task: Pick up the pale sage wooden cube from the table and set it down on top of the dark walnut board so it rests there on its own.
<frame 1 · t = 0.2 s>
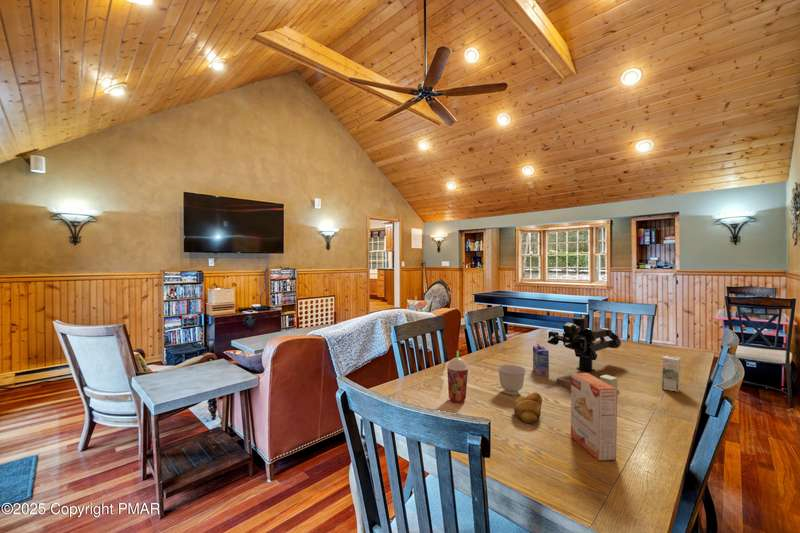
hand: (556, 343, 169), 17 cm above the table, tool horizontal, fingers open, 9 cm apart
bread roll: (526, 418, 128), on the table
ink cartridge box: (540, 372, 178), on the table
syrup box: (670, 390, 156), on the table
cracker box: (591, 448, 108), on the table
walnut board: (573, 386, 161), on the table
smoothie: (457, 401, 143), on the table
teacup: (511, 391, 153), on the table
sage cube: (608, 388, 157), on the table
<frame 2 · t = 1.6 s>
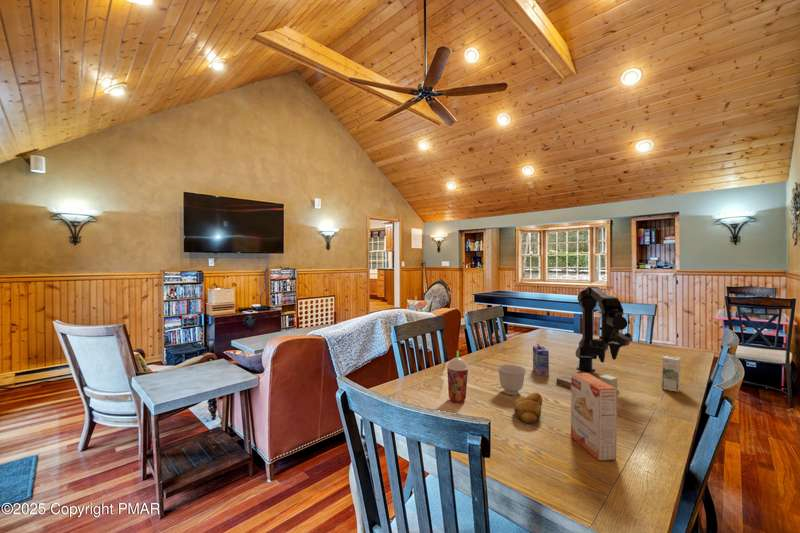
hand: (608, 360, 157), 12 cm above the table, tool pointing down, fingers open, 9 cm apart
nothing on the table moved.
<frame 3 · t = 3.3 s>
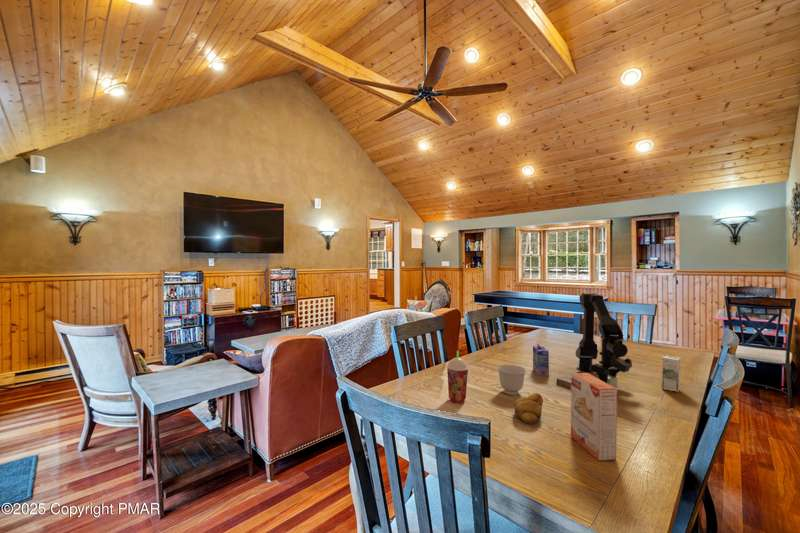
hand: (608, 385, 157), 1 cm above the table, tool pointing down, fingers closed on sage cube, 5 cm apart
sage cube: (608, 388, 157), on the table, touching gripper
everything else where it was.
when the fingers open (5 cm above the table, at t = 6.6 s): sage cube drops 1 cm, resting on walnut board.
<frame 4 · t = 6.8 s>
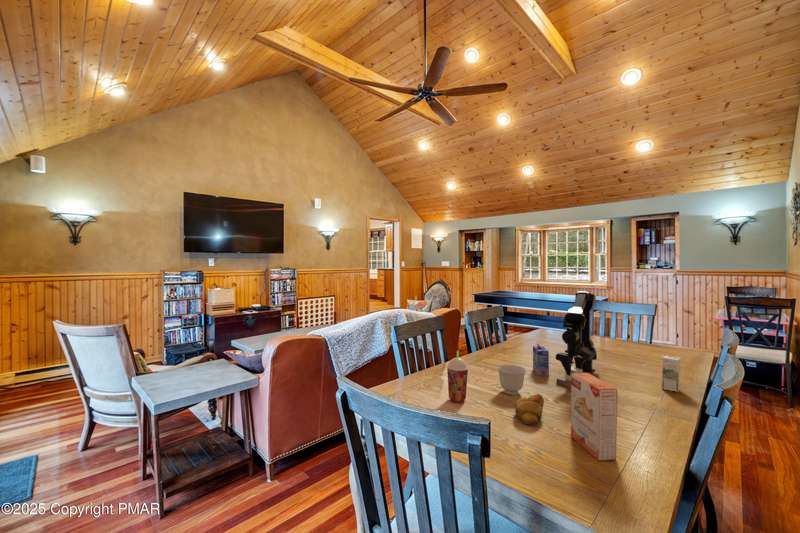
hand: (573, 374, 161), 5 cm above the table, tool pointing down, fingers open, 7 cm apart
walnut board: (573, 386, 161), on the table, touching sage cube
sage cube: (573, 379, 161), point 2 cm above the table, touching walnut board
everything else where it was.
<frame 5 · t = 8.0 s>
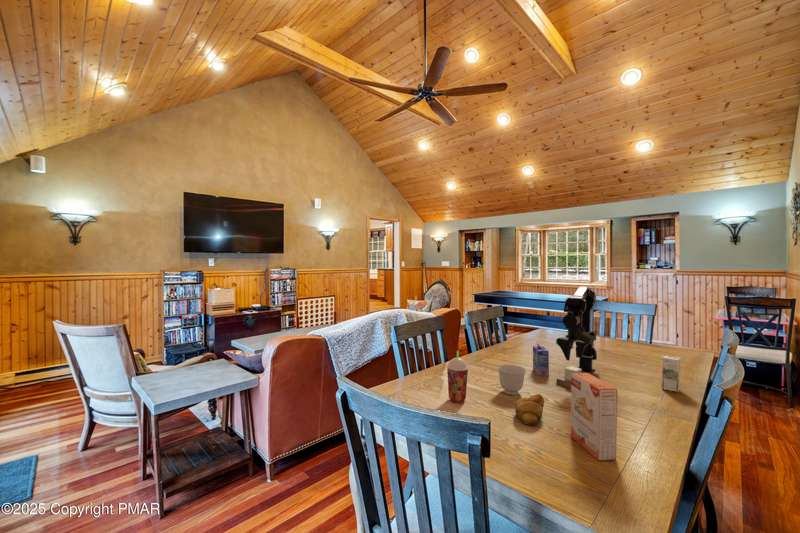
hand: (574, 358, 161), 12 cm above the table, tool pointing down, fingers open, 9 cm apart
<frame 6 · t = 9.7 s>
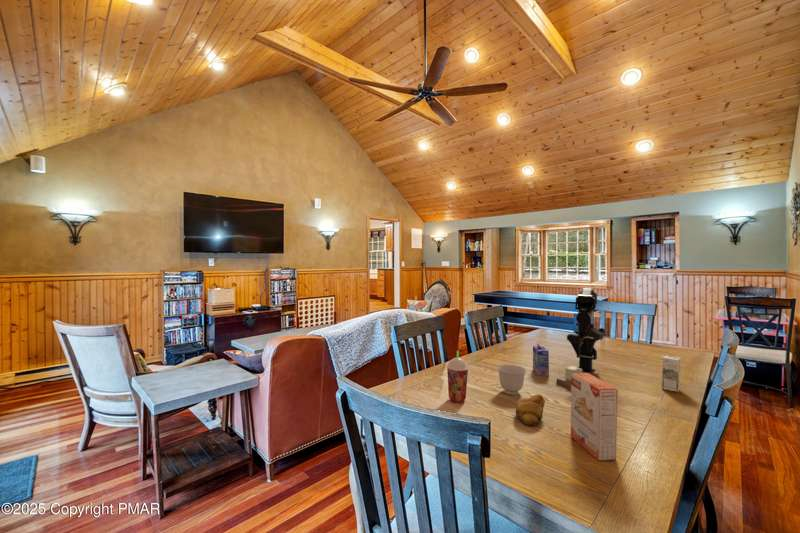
hand: (583, 354, 168), 12 cm above the table, tool pointing down, fingers open, 9 cm apart
at the end: sage cube inside the target area on the walnut board (0.3 cm from its centre), point 3.0 cm above the walnut board's base; sage cube touching walnut board; the gripper is holding nothing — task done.
